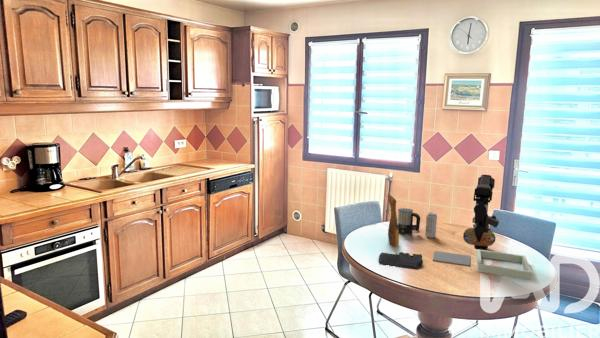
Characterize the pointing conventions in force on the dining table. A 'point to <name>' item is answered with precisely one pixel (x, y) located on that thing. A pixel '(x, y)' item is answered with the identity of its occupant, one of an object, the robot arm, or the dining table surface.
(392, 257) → the dark slate chunk
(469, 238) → the tin
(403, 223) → the milk frother
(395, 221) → the pancake mix bag
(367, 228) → the dining table surface
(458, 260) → the slate mat
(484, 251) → the grey square frame
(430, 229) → the energy drink can
